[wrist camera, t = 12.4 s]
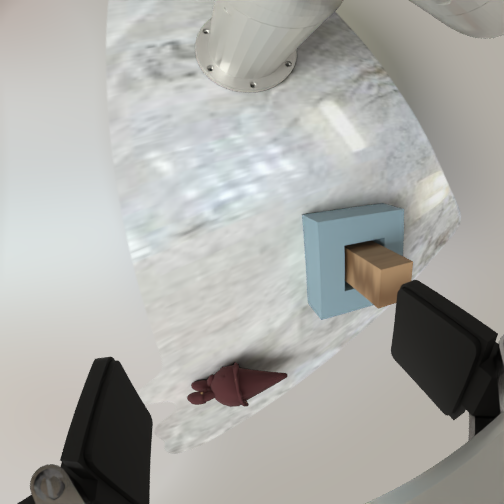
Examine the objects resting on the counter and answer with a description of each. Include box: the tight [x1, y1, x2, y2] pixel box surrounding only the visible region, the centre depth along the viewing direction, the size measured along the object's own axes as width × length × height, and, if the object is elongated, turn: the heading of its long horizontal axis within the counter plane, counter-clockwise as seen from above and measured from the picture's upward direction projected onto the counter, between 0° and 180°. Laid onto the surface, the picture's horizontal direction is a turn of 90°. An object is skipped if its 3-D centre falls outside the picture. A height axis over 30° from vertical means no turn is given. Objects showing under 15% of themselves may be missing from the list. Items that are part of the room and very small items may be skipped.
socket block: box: [302, 203, 404, 320], centre depth 37 cm, size 13×13×5 cm
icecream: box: [187, 362, 287, 407], centre depth 39 cm, size 7×7×15 cm
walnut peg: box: [344, 240, 413, 308], centre depth 34 cm, size 5×5×12 cm
